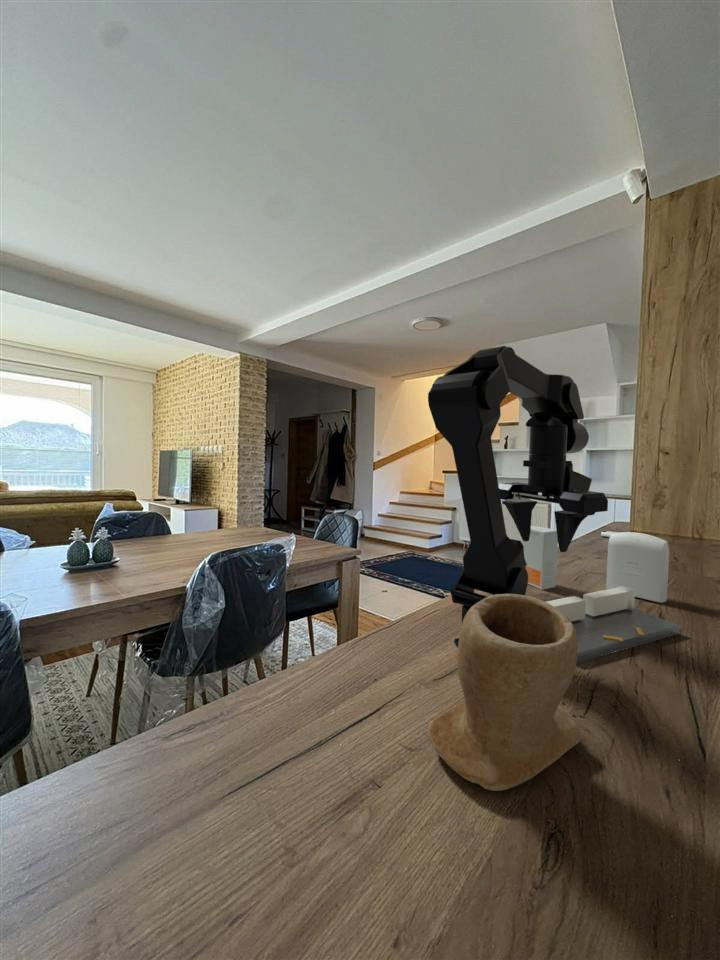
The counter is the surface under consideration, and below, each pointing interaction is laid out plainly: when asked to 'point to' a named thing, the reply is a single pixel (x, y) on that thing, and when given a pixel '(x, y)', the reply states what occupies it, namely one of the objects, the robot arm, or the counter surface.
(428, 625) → the counter surface
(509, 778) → the stone cup
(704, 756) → the counter surface
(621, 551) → the photo printer
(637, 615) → the levelling base
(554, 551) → the skincare box
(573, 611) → the white rectangular block
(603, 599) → the off-white long bar
